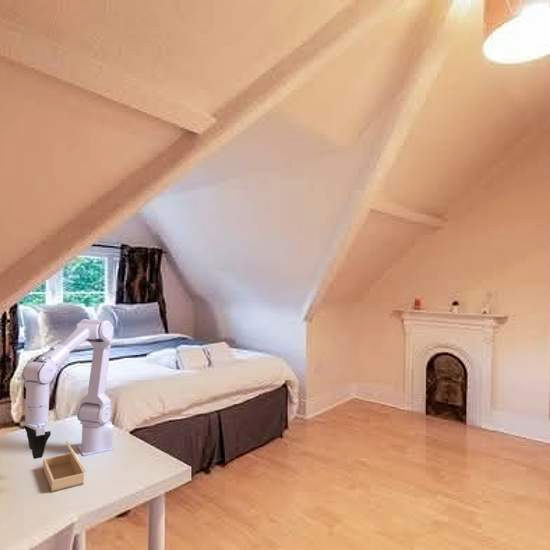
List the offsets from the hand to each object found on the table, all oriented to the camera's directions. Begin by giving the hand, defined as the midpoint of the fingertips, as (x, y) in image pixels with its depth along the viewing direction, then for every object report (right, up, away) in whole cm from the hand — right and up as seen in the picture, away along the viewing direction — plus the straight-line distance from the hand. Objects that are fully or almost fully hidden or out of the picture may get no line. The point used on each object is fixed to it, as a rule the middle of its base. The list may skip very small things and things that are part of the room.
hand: (35, 452), depth 119 cm
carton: (+5, -9, +4) cm, 11 cm away
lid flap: (+8, -4, +6) cm, 11 cm away
